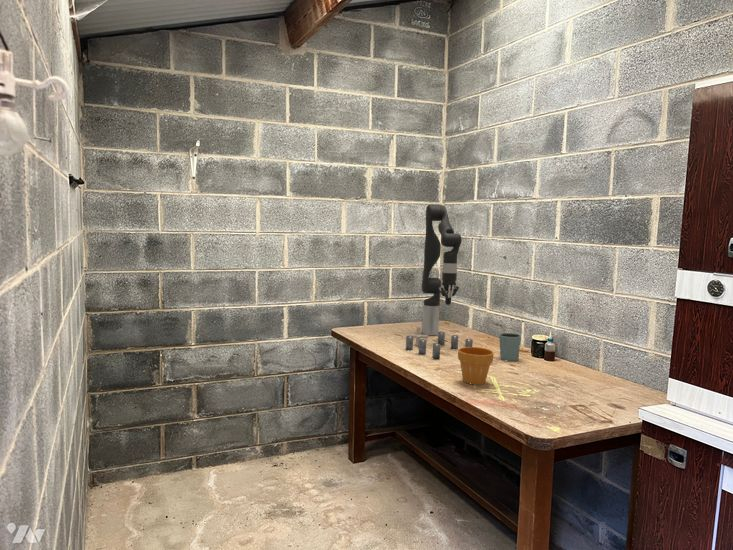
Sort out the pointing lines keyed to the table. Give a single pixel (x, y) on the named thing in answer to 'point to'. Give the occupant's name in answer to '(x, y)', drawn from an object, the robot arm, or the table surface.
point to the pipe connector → (418, 336)
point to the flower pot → (475, 364)
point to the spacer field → (436, 344)
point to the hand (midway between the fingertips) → (448, 304)
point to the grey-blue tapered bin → (509, 346)
